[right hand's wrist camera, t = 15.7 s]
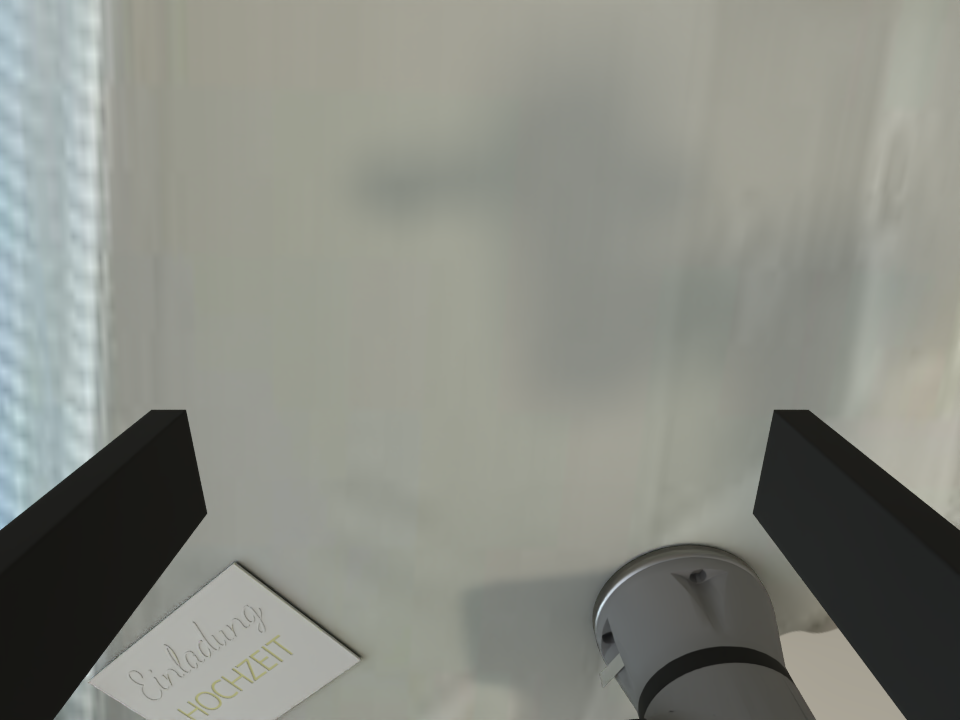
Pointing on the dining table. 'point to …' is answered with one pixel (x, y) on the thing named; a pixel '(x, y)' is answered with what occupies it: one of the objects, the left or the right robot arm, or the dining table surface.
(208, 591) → the invitation card
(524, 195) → the dining table surface
